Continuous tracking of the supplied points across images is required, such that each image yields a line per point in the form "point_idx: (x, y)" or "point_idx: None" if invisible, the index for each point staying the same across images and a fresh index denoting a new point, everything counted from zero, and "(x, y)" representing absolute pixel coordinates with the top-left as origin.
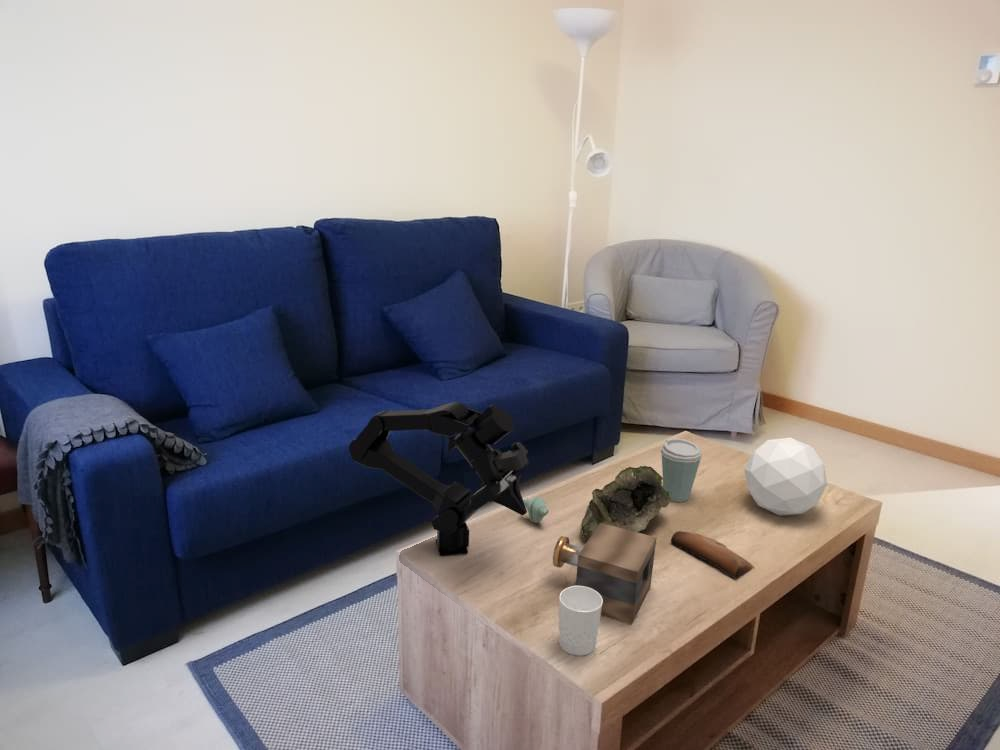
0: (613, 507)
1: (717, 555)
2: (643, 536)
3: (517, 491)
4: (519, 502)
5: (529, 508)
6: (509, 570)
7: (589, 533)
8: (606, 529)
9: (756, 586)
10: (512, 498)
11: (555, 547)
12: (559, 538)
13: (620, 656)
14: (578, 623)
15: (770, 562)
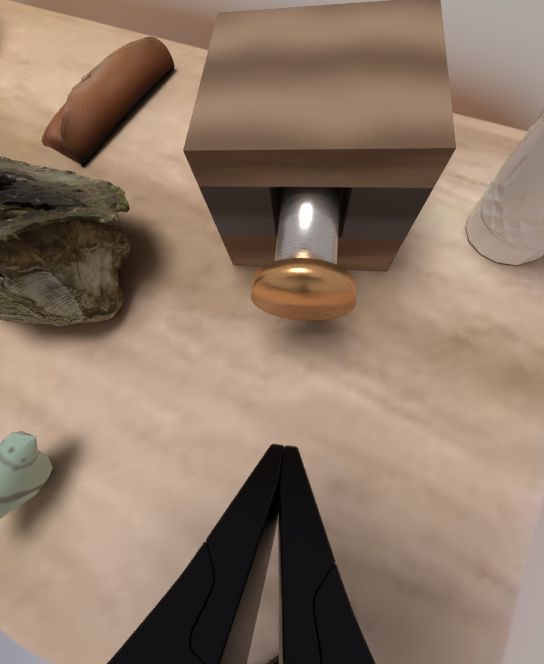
0: (19, 199)
1: (132, 69)
2: (226, 35)
3: (204, 636)
4: (294, 528)
5: (3, 508)
6: (314, 468)
7: (106, 294)
8: (224, 123)
9: (184, 47)
10: (362, 645)
11: (345, 288)
12: (308, 277)
13: (488, 160)
14: None
15: (109, 43)
